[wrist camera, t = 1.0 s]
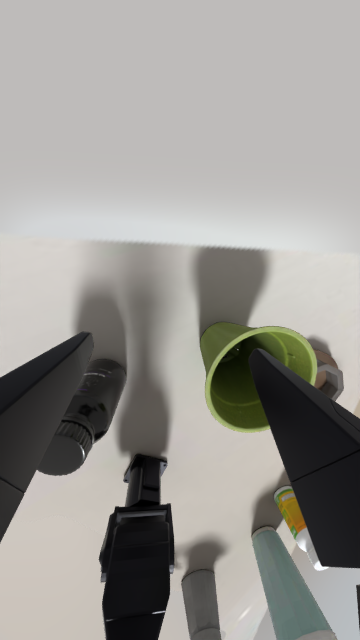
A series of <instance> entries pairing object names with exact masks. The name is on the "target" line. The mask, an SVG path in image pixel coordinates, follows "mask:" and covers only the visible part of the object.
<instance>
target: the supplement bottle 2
mask: <svg viewBox="0 0 360 640" xmlns="http://www.w3.org/2000/svg"><path fill="white" fill-rule="evenodd" d="M274 500H275V502H276V504H277V506H278V508H279V510H280V512H281V514H282V516H283V517H284V519H285V521H286V523H287V525H288V527H289V529H290V531H291V533H292V535H293V537H294V539H295V540H296V542H297V544H298V546H299V547H300V548H301V549H302V550H304V551H306V552H308V557H309V559H310V561H311V562H312V564H313V566H314V568H315V569H316V570H324V569H327V568H328V567H322V566H321V564H320V562H319V559H318V557H317V554H316V552H315V549H314V546H313V544H312V541H311V538H310V535H309V533H308V530H307V527H306V524H305V522H304V519H303V516H302V513H301V511H300V508H299V505H298V503H297V500H296V497H295V494H294V492H293V489H292V487H291V486H284V487H281V488H280V489H278V490H277V491H276V492H275V494H274Z"/></svg>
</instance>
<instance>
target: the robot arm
mask: <svg viewBox="0 0 360 640" xmlns="http://www.w3.org/2000/svg"><path fill="white" fill-rule="evenodd" d="M93 347H94V344H93V337H92V334H91V333H90V332H81V333H79V334H77V335H75V336H73V337H72V338H70V339H68V340H66V341H65V342H63V343H61V344H59V345H57V346H56V347H54V348H52V349H50V350H48V351H47V352H45V353H43V354H41V355H40V356H38V357H36V358H34V359H32V360H31V361H29V362H27V363H25V364H24V365H22V366H20V367H18V368H16V369H15V370H13V371H11V372H9V373H7V374H6V375H4V376H2V377H0V542H1V540H2V538H3V536H4V534H5V532H6V530H7V528H8V526H9V524H10V522H11V520H12V518H13V516H14V514H15V512H16V510H17V508H18V506H19V504H20V502H21V500H22V498H23V496H24V493H25V492H26V490H27V488H28V486H29V484H30V482H31V480H32V478H33V476H34V474H35V472H36V470H37V468H38V466H39V464H40V462H41V460H42V458H43V456H44V454H45V452H46V450H47V448H48V446H49V444H50V442H51V440H52V438H53V436H54V434H55V432H56V430H57V428H58V426H59V424H60V422H61V420H62V418H63V416H64V414H65V412H66V410H67V408H68V406H69V404H70V402H71V400H72V398H73V396H74V394H75V392H76V390H77V388H78V386H79V384H80V382H81V380H82V377H83V375H84V373H85V370H86V367H87V364H88V362H89V359H90V356H91V353H92V351H93ZM249 365H250V369H251V373H252V377H253V381H254V384H255V388H256V391H257V393H258V396H259V399H260V401H261V404H262V407H263V410H264V412H265V415H266V418H267V421H268V423H269V426H270V429H271V431H272V434H273V437H274V440H275V442H276V445H277V448H278V450H279V453H280V456H281V459H282V461H283V464H284V467H285V470H286V472H287V475H288V478H289V480H290V482H291V486H292V489H293V492H294V494H295V497H296V500H297V503H298V505H299V508H300V511H301V513H302V516H303V519H304V522H305V524H306V527H307V530H308V533H309V535H310V538H311V541H312V544H313V546H314V549H315V552H316V554H317V557H318V559H319V562H320V564H321V566H322V567H342V568H360V419H359V418H358V417H356V416H355V415H353V414H352V413H351V412H349V411H348V410H346V409H345V408H343V407H342V406H341V405H339V404H338V403H336V402H335V401H334V400H332V399H331V398H329V397H328V396H327V395H325V394H324V393H322V392H321V391H320V390H318V389H317V388H316V387H314V386H313V385H311V384H310V383H309V382H307V381H306V380H304V379H303V378H302V377H300V376H299V375H298V374H296V373H295V372H293V371H292V370H291V369H289V368H288V367H286V366H285V365H284V364H282V363H281V362H280V361H278V360H277V359H275V358H274V357H273V356H271V355H270V354H268V353H267V352H266V351H264V350H263V349H254V350H253V352H252V354H251V355H250V357H249ZM166 467H167V461H164V460H159V459H155V458H151V457H147V456H143V455H139V454H138V455H136V456H135V458H134V460H133V461H132V463H131V465H130V467H129V469H128V471H127V473H126V475H125V477H124V480H123V481H124V482H126V483H129V484H128V490H127V497H126V503H125V507H119V506H115V510H114V513H113V514H111V515H110V518H109V522H108V527H107V531H106V535H105V538H104V542H103V545H102V548H101V552H100V556H99V562H100V564H101V572H102V574H101V582H106V583H105V589H104V595H103V601H102V610H103V622H104V630H105V638H106V640H158V637H159V633H160V630H161V626H162V622H163V619H164V615H165V611H166V607H167V603H168V600H169V595H170V574H173V570H174V533H173V523H172V513H171V504H170V503H167V504H164V505H161V476H162V474H163V472H164V471H165V469H166ZM356 588H357V601H358V614H359V628H360V585H356Z"/></svg>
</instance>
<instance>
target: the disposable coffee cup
mask: <svg viewBox="0 0 360 640" xmlns="http://www.w3.org/2000/svg"><path fill="white" fill-rule="evenodd" d="M252 541H253V548H254V552H255V556H256V560H257V564H258V568H259V572H260V576H261V580H262V584H263V588H264V592H265V595H266V599H267V603H268V607H269V611H270V615H271V619H272V623H273V627H274V631H275V635H276V638H277V640H337V638H336V636H335V633H334V632H333V631H332V629H331V627H330V626H329V624H328V622H327V620H326V619H325V617H324V615H323V613H322V611H321V610H320V608H319V606H318V604H317V602H316V601H315V599H314V597H313V595H312V594H311V592H310V590H309V588H308V586H307V585H306V583H305V581H304V579H303V577H302V576H301V574H300V572H299V570H298V569H297V567H296V565H295V563H294V561H293V560H292V558H291V556H290V554H289V553H288V551H287V549H286V547H285V545H284V544H283V542H282V540H281V538H280V537H279V535H278V533H277V532H276V531H275V529H274V528H272V527H267V526H266V527H263V528H260V529H258V530H257V531H255V532H254V534H253V535H252Z"/></svg>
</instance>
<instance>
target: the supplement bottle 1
mask: <svg viewBox="0 0 360 640" xmlns="http://www.w3.org/2000/svg"><path fill="white" fill-rule="evenodd" d="M125 383H126V375H125V372H124V370H123V368H122V367H121V366H120V365H119V364H118V363H116V362H114V361H112V360H108V359H99V360H95V361H92V362H91V363H89V364H88V365H87V367H86V370H85V373H84V375H83V377H82V380H81V382H80V384H79V386H78V388H77V390H76V392H75V394H74V396H73V398H72V400H71V402H70V404H69V406H68V408H67V410H66V412H65V414H64V416H63V418H62V420H61V422H60V424H59V426H58V428H57V430H56V432H55V434H54V436H53V438H52V440H51V442H50V444H49V446H48V448H47V450H46V452H45V454H44V456H43V458H42V460H41V462H40V464H39V466H38V468H37V470H38V471H39V472H42V473H44V474H48V475H54V476H57V475H59V476H61V475H67V474H70V473H72V472H74V471H76V470H77V469H79V468H80V466H81V465H82V464H83V463H84V461H85V459H86V457H87V455H88V453H89V451H90V450H91V448H92V445H93V444H94V443H96V442H97V441H99V440H100V439H101V438H102V437H103V436H104V435H105V434H106V432H107V431H108V429H109V427H110V424H111V422H112V419H113V416H114V414H115V411H116V408H117V406H118V403H119V400H120V398H121V395H122V392H123V389H124V387H125Z"/></svg>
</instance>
